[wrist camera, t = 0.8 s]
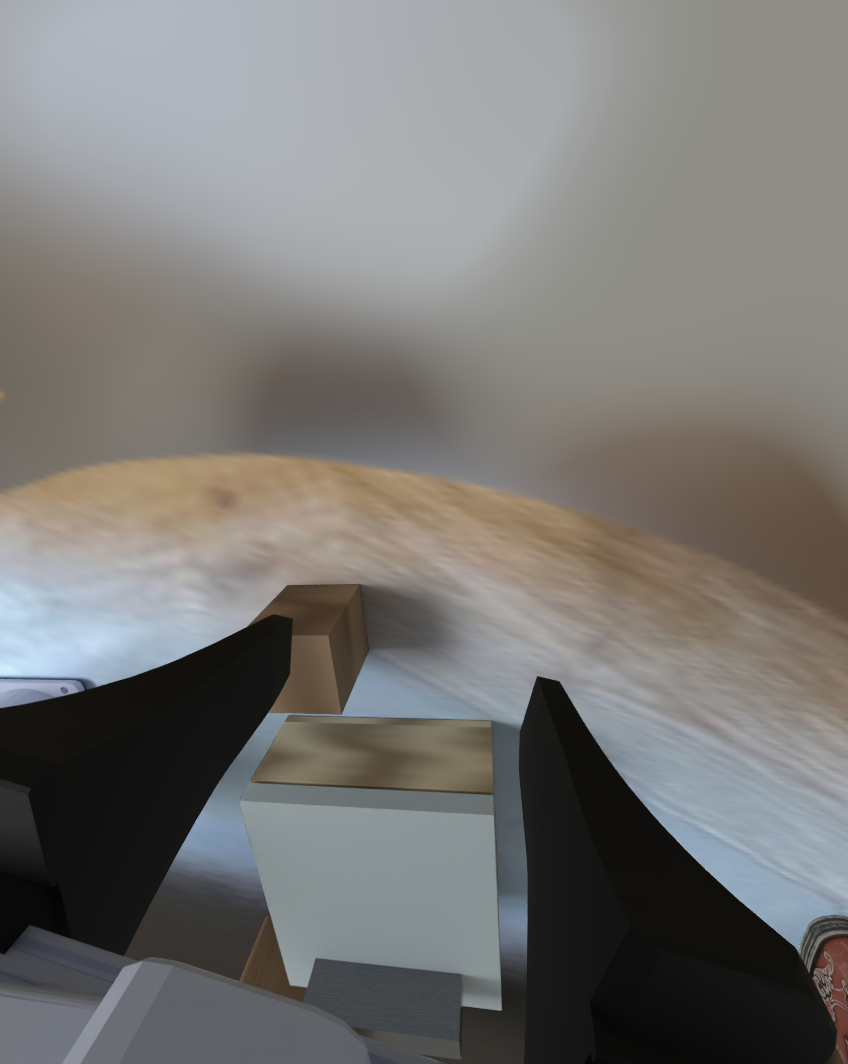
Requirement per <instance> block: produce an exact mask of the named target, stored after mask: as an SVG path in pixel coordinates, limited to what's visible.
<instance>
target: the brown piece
mask: <svg viewBox="0 0 848 1064" xmlns="http://www.w3.org/2000/svg"><path fill="white" fill-rule="evenodd" d="M251 781H252V783H261V784H281V785H301V786H321V787H341V788H361V789H381V790H401V791H421V792H441V793H461V794H481V795H493V802H494V827H495V851H496V876H497V900H498V875H497V850H496V825H495V800H494V775H493V750H492V725H491V721H476V720H438V719H399V718H360V717H321V716H288V717H287V719H286V721H285V722H284V724H283V726H282V727H281V729H280V731H279V733H278V734H277V736H276V738H275V739H274V741H273V743H272V744H271V746H270V748H269V750H268V751H267V753H266V755H265V756H264V758H263V760H262V762H261V763H260V765H259V767H258V768H257V770H256V772H255V774H254V775H253V777H252V779H251ZM498 924H499V901H498ZM499 949H500V935H499ZM500 973H501V968H500Z"/></svg>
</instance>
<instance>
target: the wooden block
mask: <svg viewBox="0 0 848 1064" xmlns="http://www.w3.org/2000/svg"><path fill="white" fill-rule="evenodd" d="M239 982H242V983H245V984H248V985H251V986H254V987H257V988H260V989H263V990H266V991H269V992H272V993H275V994H278V995H281V996H284V997H288V998H291V999H294V1000H297V1001H300V1002H303V1000H304V996H305V993H306V989H307V987H300V986H292V985H290V984H289V980H288V976H287V973H286V969H285V966H284V962H283V958H282V955H281V951H280V948H279V944H278V941H277V937H276V933H275V930H274V926H273V923H272V919H271V915H270V914H268V915H267V916H266V918H265V920H264V922H263V924H262V927H261V929H260V932H259V934H258V937H257V939H256V942H255V944H254V947H253V949H252V951H251V954H250V956H249V959H248V961H247V964H246V966H245V969H244V971H243V974H242V976H241V979H240V981H239Z"/></svg>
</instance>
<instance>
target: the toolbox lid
mask: <svg viewBox="0 0 848 1064" xmlns="http://www.w3.org/2000/svg"><path fill="white" fill-rule="evenodd" d="M239 804H240V808H241V811H242V815H243V819H244V822H245V826H246V829H247V833H248V837H249V840H250V844H251V847H252V851H253V854H254V858H255V862H256V865H257V869H258V872H259V876H260V880H261V883H262V887H263V890H264V894H265V898H266V901H267V905H268V908H269V912H270V915H271V919H272V923H273V926H274V930H275V933H276V937H277V941H278V944H279V948H280V951H281V955H282V958H283V962H284V966H285V969H286V973H287V976H288V980H289V984H290V985H292V986H300V987H307V989H306V993H305V996H304V1000H303V1003H306V1004H309V1005H312V1006H315V1007H317V1008H319V1009H321V1010H323V1011H325V1012H327V1013H329V1014H331V1015H333V1016H335V1017H337V1018H340V1019H342V1020H344V1021H345V1022H346V1023H347V1024H348V1025H349V1026H350V1027H351V1028H352V1029H353V1030H354V1031H355V1032H356V1033H357V1034H358V1035H361V1036H364V1037H367V1038H370V1039H373V1040H376V1041H379V1042H382V1043H385V1044H388V1045H391V1046H394V1047H397V1048H400V1049H403V1050H406V1051H409V1052H412V1053H416V1054H423V1055H430V1056H438V1057H445V1058H452V1059H460V1060H461V1042H462V1011H463V1006H467V1007H475V1008H484V1009H492V1010H500V1011H502V1001H501V973H500V949H499V924H498V900H497V876H496V851H495V827H494V802H493V795H481V794H461V793H441V792H421V791H401V790H381V789H361V788H341V787H321V786H301V785H281V784H261V783H249V784H248V786H247V787H246V789H245V791H244V792H243V794H242V796H241V797H240V799H239Z"/></svg>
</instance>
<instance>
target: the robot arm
mask: <svg viewBox="0 0 848 1064" xmlns="http://www.w3.org/2000/svg"><path fill="white" fill-rule="evenodd" d="M292 627H293V618H288V617H284V616H280V615H276V614H273V615H270V616H268V617H266V618H264V619H262V620H260V621H258V622H256V623H254V624H252V625H250V626H248V627H246V628H244V629H242V630H240V631H238V632H236V633H234V634H232V635H230V636H228V637H226V638H224V639H222V640H220V641H218V642H216V643H214V644H212V645H210V646H207V647H205V648H203V649H201V650H198V651H196V652H194V653H192V654H189V655H187V656H185V657H183V658H181V659H178V660H176V661H173V662H171V663H168V664H166V665H163V666H161V667H158V668H155V669H152V670H150V671H147V672H144V673H141V674H138V675H136V676H132V677H129V678H126V679H123V680H119V681H116V682H113V683H109V684H106V685H102V686H99V687H95V688H92V689H89V690H85V689H84V687H83V685H82V684H81V683H80V682H79V681H75V680H25V679H0V1064H445V1063H442V1062H439V1061H436V1060H433V1059H430V1058H427V1057H424V1056H421V1055H418V1054H415V1053H412V1052H409V1051H406V1050H403V1049H400V1048H397V1047H394V1046H391V1045H388V1044H385V1043H382V1042H379V1041H376V1040H373V1039H370V1038H367V1037H364V1036H361V1035H358V1034H357V1033H356V1032H355V1031H354V1030H353V1029H352V1028H351V1027H350V1026H349V1025H348V1024H347V1023H346V1022H345V1021H344V1020H342V1019H340V1018H337V1017H335V1016H333V1015H331V1014H329V1013H327V1012H325V1011H323V1010H321V1009H319V1008H317V1007H315V1006H312V1005H309V1004H306V1003H303V1002H300V1001H297V1000H294V999H291V998H288V997H284V996H281V995H278V994H275V993H272V992H269V991H266V990H263V989H260V988H257V987H254V986H251V985H248V984H245V983H242V982H239V981H236V980H233V979H230V978H227V977H224V976H221V975H218V974H215V973H212V972H209V971H206V970H203V969H200V968H197V967H194V966H191V965H188V964H184V963H181V962H178V961H173V960H167V959H161V958H155V957H150V958H147V959H144V960H140V961H136V960H133V959H130V958H127V957H124V955H125V953H126V951H127V949H128V947H129V945H130V943H131V941H132V939H133V937H134V935H135V933H136V931H137V929H138V927H139V925H140V923H141V921H142V919H143V917H144V915H145V913H146V911H147V909H148V907H149V905H150V903H151V902H152V900H153V898H154V896H155V894H156V892H157V890H158V888H159V887H160V885H161V883H162V881H163V879H164V877H165V875H166V873H167V872H168V870H169V868H170V866H171V864H172V862H173V860H174V859H175V857H176V855H177V853H178V851H179V850H180V848H181V846H182V844H183V843H184V841H185V839H186V837H187V835H188V834H189V832H190V830H191V828H192V826H193V825H194V823H195V821H196V819H197V818H198V816H199V814H200V813H201V811H202V809H203V808H204V806H205V804H206V802H207V801H208V799H209V797H210V796H211V794H212V792H213V791H214V789H215V787H216V786H217V784H218V783H219V781H220V780H221V778H222V777H223V775H224V774H225V772H226V771H227V769H228V768H229V766H230V765H231V764H232V762H233V761H234V760H235V758H236V757H237V755H238V754H239V753H240V751H241V750H242V748H243V747H244V746H245V744H246V743H247V742H248V740H249V739H250V737H251V736H252V735H253V733H254V732H255V730H256V729H257V728H258V726H259V725H260V723H261V722H262V721H263V719H264V718H265V716H266V715H267V714H268V712H269V711H270V709H271V708H272V706H273V705H274V703H275V701H276V700H277V698H278V696H279V694H280V693H281V691H282V689H283V687H284V685H285V683H286V681H287V679H288V677H289V675H290V665H291V646H292ZM519 775H520V787H521V799H522V810H523V821H524V832H525V843H526V854H527V872H528V933H527V991H526V1029H525V1055H524V1064H825V1063H826V1062H827V1060H828V1059H829V1057H830V1056H831V1054H832V1053H833V1051H834V1050H835V1047H836V1043H837V1028H836V1026H835V1024H834V1021H833V1019H832V1017H831V1015H830V1013H829V1011H828V1009H827V1007H826V1005H825V1003H824V1001H823V999H822V997H821V995H820V993H819V991H818V989H817V987H816V985H815V983H814V981H813V979H812V977H811V975H810V973H809V971H808V969H807V968H806V966H805V964H804V962H803V960H802V958H801V957H800V955H799V953H798V951H797V950H796V948H795V947H794V946H793V945H792V944H790V943H789V942H788V941H787V940H786V939H784V938H783V937H782V936H781V935H780V934H778V933H777V932H776V931H775V930H774V929H773V928H771V927H770V926H769V925H768V924H767V923H765V922H764V921H763V920H762V919H761V918H759V917H758V916H757V915H756V914H755V913H753V912H752V911H751V910H750V909H749V908H747V907H746V906H745V905H744V904H743V903H741V902H740V901H739V900H738V899H737V898H736V897H735V896H734V895H732V894H731V893H730V892H729V891H728V890H727V889H726V888H725V887H724V886H723V885H722V884H721V883H719V882H718V881H717V880H716V879H715V878H714V877H713V876H712V875H711V874H710V873H709V872H708V871H706V870H705V869H704V868H703V867H702V866H701V865H700V864H699V863H698V862H697V861H696V860H695V859H694V858H693V857H692V856H691V855H690V854H689V853H688V852H687V851H686V850H685V849H684V848H683V847H682V846H681V845H680V844H679V843H678V842H677V841H676V839H675V838H674V837H673V836H672V835H671V834H670V833H669V832H668V831H667V830H666V829H665V828H664V827H663V826H662V825H661V824H660V823H659V821H658V820H657V819H656V818H655V817H654V816H653V815H652V814H651V812H650V811H649V810H648V809H647V808H646V807H645V805H644V804H643V803H642V802H641V801H640V799H639V798H638V797H637V796H636V795H635V793H634V792H633V791H632V790H631V789H630V787H629V786H628V785H627V784H626V782H625V781H624V780H623V779H622V777H621V776H620V775H619V773H618V772H617V771H616V769H615V768H614V766H613V765H612V764H611V762H610V761H609V760H608V758H607V757H606V755H605V754H604V753H603V751H602V750H601V748H600V747H599V745H598V744H597V742H596V740H595V739H594V737H593V736H592V734H591V733H590V731H589V730H588V728H587V727H586V725H585V723H584V722H583V720H582V718H581V717H580V715H579V714H578V712H577V710H576V709H575V707H574V705H573V703H572V702H571V700H570V698H569V697H568V695H567V693H566V692H565V690H564V688H563V687H562V685H561V683H560V682H559V681H556V680H551V679H547V678H543V677H539V676H537V678H536V682H535V685H534V688H533V691H532V695H531V698H530V701H529V704H528V708H527V711H526V714H525V717H524V721H523V724H522V727H521V730H520V746H519Z"/></svg>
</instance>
